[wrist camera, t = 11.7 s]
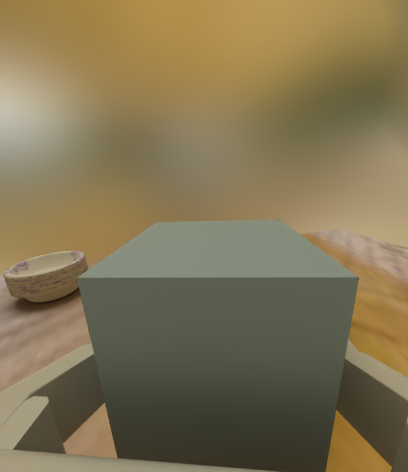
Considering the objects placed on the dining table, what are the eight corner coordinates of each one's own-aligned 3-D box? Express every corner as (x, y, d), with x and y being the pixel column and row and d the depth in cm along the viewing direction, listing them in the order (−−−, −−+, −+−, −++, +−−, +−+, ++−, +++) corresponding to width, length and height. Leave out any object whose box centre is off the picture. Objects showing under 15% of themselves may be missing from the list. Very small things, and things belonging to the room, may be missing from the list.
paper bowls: (13, 292, 50) (3, 262, 48) (83, 272, 60) (77, 246, 58) (13, 321, 39) (0, 284, 37) (99, 291, 49) (92, 259, 47)
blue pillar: (309, 567, 6) (358, 277, 3) (137, 547, 6) (76, 277, 4) (269, 392, 11) (279, 219, 8) (173, 387, 11) (156, 222, 9)
